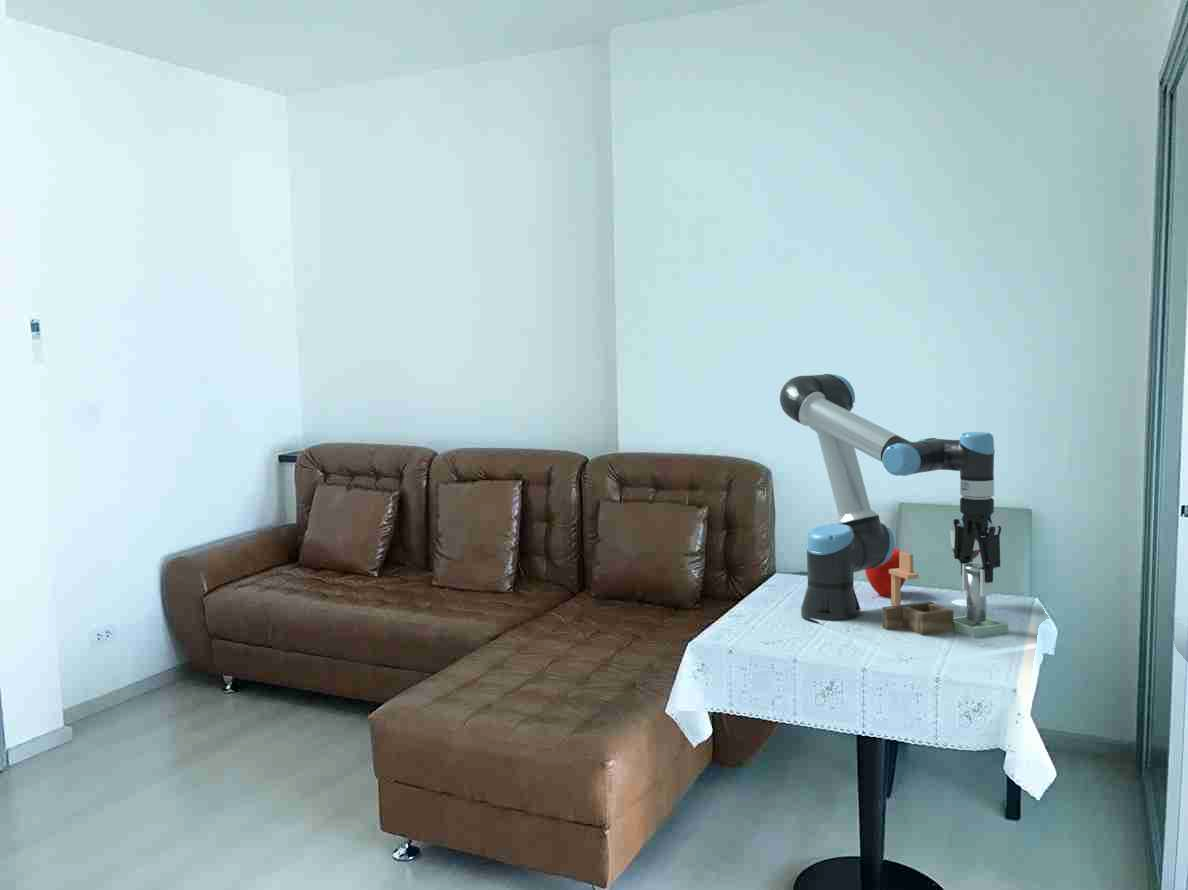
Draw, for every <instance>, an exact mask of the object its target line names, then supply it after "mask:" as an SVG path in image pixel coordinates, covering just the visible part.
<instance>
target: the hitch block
mask: <svg viewBox="0 0 1188 890" xmlns="http://www.w3.org/2000/svg"><path fill="white" fill-rule="evenodd" d="M953 618H954V609H950V608H947V607H944V606H941V605H939V604H937V603H934V602H932V601H929V600H927V601H925V600H924V601H920V602H912V603H904V604H901V606H896V607H895V606H892V605H890V606H884V607H882V629H884V630H886V631H890V630H891V631H892V630H897V629H905V630H907V631H910V632H913V633H914V634H918V635H920V636H928V635H934V634H940V633H941V634H942V633H948V632H949V633H950V632H954V630H953Z"/></svg>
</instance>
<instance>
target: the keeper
mask: <svg viewBox="0 0 1188 890" xmlns="http://www.w3.org/2000/svg"><path fill="white" fill-rule="evenodd" d="M889 574H891V596H890V606H895V607H896V606H901V605H902V592H901V591H902V588H901V577H902V578H905V579H906V580H913V579H919V577H920V576H919V573H917V572H914V554H913V553H909V552H906V551H901V552H899V568H895V569H889Z"/></svg>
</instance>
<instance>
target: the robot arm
mask: <svg viewBox="0 0 1188 890" xmlns="http://www.w3.org/2000/svg"><path fill="white" fill-rule="evenodd" d="M854 390H855V389H854V388H853V386H852V384H851V383H850V381H848V379H846V378H845V377H843V376H841V375H839V374H831V373H823V374H813V375H811V374H810V375H798V376H797V375H796V376H794V377H793V378H790V379H789V380H787V382H786V383H785V384H784V385H783V386H782V389H781V391H780V394H779V402H780V403H779V404H780V406H781V409H782V411H783V412H784V413H785V414H786V416H788V417H789V418H790V419H792V420H793V421H795V422H797V423H799V424H801V425H802V426H805V427H809V429H811V430H813V431H814V432H816V434H817V438H818V442H819V445H820V450H821V453H822V456H823V460H824V463H825V464H824V465H825V468H826V472H827V475H828V479H829V483H830V487H831V490H832V495H833V498H834V499H833V500H834V502H835V505H836V506H835V507H836V509H837V513H838V519H837V521H836V522H835V523H834V524H828V525H827V524H823V525H819V526H816V527H814V528H813V529H811V530H810V531H809V532H808V534H807V540H806V541H807V543H806V558H807V559H806V560H807V561H806V563H807V564H806V565H807V568H806V569H807V586H806V587H807V588H806V591H805V594H804V596H803V600H802V604H801V607H800V615H801V616H800V617H802V618H803V619H805V620H806V621H809V622H814V623H817V624H818V623H820V622H819V621H817V620H820V621H828V622H830V621H831V622H833V621H834V622H839V621H841V622H843V621H850V620H854V619H857V618H859V617H860V616H861V613H862V611H861V606H860V603H859V601H858V597H857V594H856V591H855V589H854V586H855V585H854V573H857V572H863V571H865V570H866V569H872V568H876V567H878V566H880V565H883V564H885V563H886V562H887V561H888V560H889V559H890V557H891V556H892V554H893V552H894V549H895V547H896V546H895V537H894V534H893V532H892V529H890V528H889V527H887V525H886V524H884V523H882V522H881V520H880V515H879V514H878V513H877V512H876V511H874V510H872V507H871V505H870V504H871V503H870V501H869V497H868V493H867V489H866V486H865V482H864V479H863V474H862V472H861V468H860V467H861V466H860V464H859V460H858V456H857V452H856V450H858V451H860V452H862V453H864V454H866V455H867V456H870V457H871V458H873V459H875V460H877V461H879V462H881V463H882V465H883V467H884V468H885V470H886V471H887V472H888V473H889V474H891V475H893V476H897V477H899V476H904V477H905V476H910V475H914V474H915V475H916V474H921V473H927V472H934V471H956V472H959V474H960V475H959V476H960V479H959V482H960V483H959V485H960V487H959V488H960V489H959V490H960V492H959V493H960V495H961V497H960V499H959V511H960V513H961V514H963V515H962V517H961V518H955V519H953V526H954V528H955V546H954V552H953V557H954V559H955V560H957V561H959V563H960V575H961V591H964V592H965V591H966V590H967V571H965V570H964V565H966V564H974V563H973V561H974V559H973V560H972V559H971V557H972V552H973V548H974V543H975V539H976V540H977V541H978V544H979V549H980V553H979V554H980V559H981V564H982V565H983V567H980V568H981V569H980V596H986V597H987V596H992V593H993V591H992V585H993V584H992V583H993V582H994V569H996V568H1000V567H1001V543H1000V542H1001V540H1000V539H1001V538H1000V537H1001V536H1000V535H1001V531H1002V527H1001V525H995V524H994V523H993V521H992V518H991V516H992V514H994V512H995V499H994V498H993V497H994V496H995V475H994V472H995V471H994V470H995V469H994V468H995V466H994V465H995V454H996V453H995V452H996V450H995V442H994V435H993V434H992V433H990V432H986V431H979V432H978V431H969V432H967V431H966V432H963V433H961V434H960V436H959V439H947V438H946V439H945V438H936V437H931V438H929V437H928V438H920V439H918V441H910V440H908V439H905V438H904V437H902V436H900V435H898V434H896V433H893V432H892V431H890V430H888V429H886V428H884V427H882V426H880V425H877V424H876V423H874V422H873V421H870V420H868V419H866V418H864V417H862V416H860V415H858V414H856V413H854V412H852V410H853V408H854V403H855V402H856V394H855V391H854ZM981 536H982V537H981ZM959 553H961V554H959ZM820 624H821V623H820Z"/></svg>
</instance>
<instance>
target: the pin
mask: <svg viewBox="0 0 1188 890" xmlns="http://www.w3.org/2000/svg"><path fill="white" fill-rule="evenodd" d="M980 567H983V565H982V563H973V564H966V565H964V570H965V571H967V606H966V616H967V620H970V621H975V622H982V621H986V617H987V596H980V569H981V568H980Z"/></svg>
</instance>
